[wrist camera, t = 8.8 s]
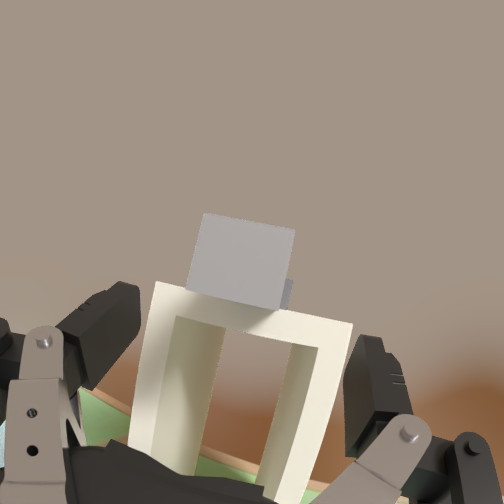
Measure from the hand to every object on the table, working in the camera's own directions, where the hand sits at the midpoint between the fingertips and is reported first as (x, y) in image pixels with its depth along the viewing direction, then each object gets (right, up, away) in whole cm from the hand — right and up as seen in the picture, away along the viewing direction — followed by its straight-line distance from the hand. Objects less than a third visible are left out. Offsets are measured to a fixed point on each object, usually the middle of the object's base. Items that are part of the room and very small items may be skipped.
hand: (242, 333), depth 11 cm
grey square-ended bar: (+1, -2, +18) cm, 18 cm away
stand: (-6, -34, +18) cm, 39 cm away
